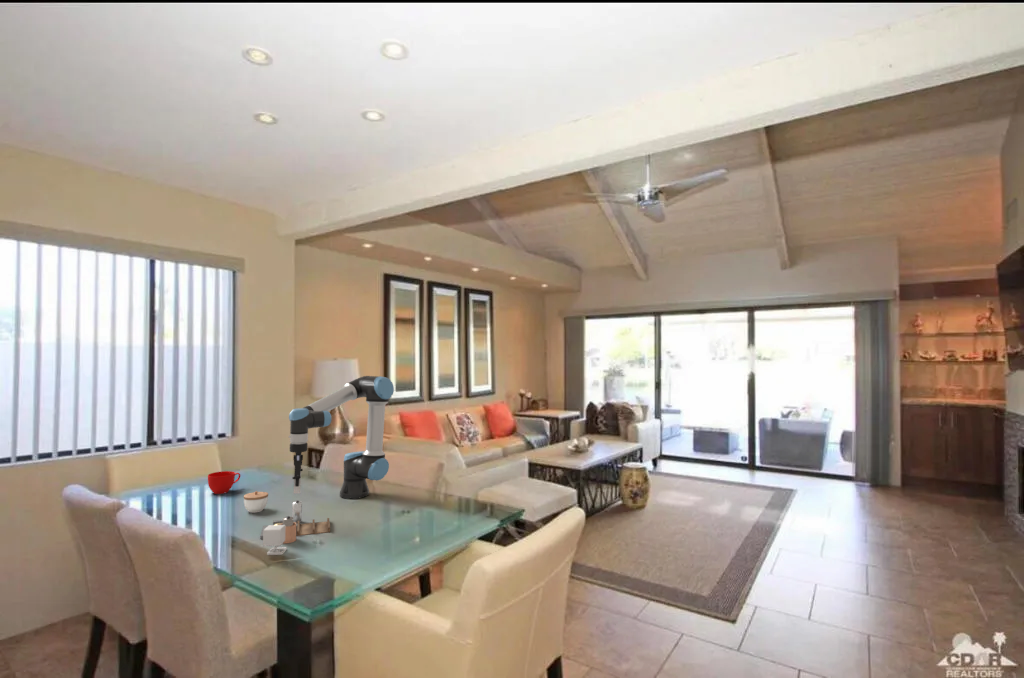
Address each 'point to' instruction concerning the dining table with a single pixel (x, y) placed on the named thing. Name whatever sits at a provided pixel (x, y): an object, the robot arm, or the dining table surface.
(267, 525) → the cradle
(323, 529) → the trough board
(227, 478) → the ceramic cup
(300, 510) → the cell
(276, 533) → the security camera
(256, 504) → the lidded jar
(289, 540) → the octagonal tan cylinder
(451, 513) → the dining table surface
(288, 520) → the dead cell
